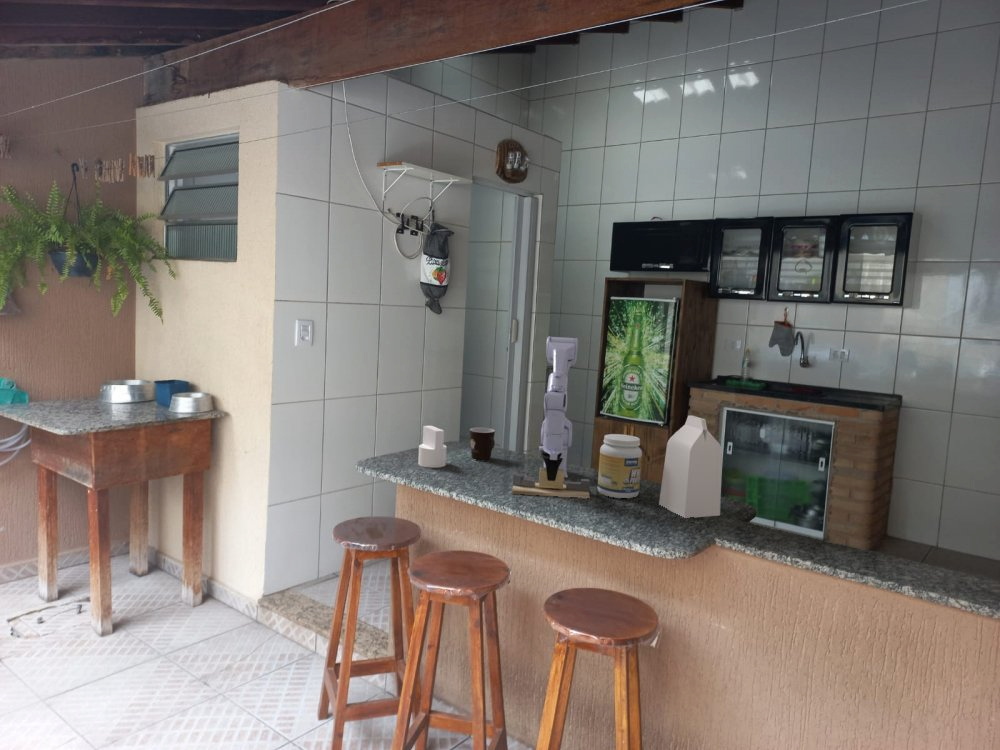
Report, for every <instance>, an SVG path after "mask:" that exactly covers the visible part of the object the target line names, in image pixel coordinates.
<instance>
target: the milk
mask: <svg viewBox="0 0 1000 750" xmlns="http://www.w3.org/2000/svg"><path fill="white" fill-rule="evenodd" d="M722 462H723V449H722V446H721V444H720V443H719V441H717V440H716V438H715V437H714V436H713V435H712V433H710V431H709V430H708V426H707V422H706V418H702V417H698V416H696V415H687V418H686V420H685V423H684V425H682V427H680V428H679V429H678V430H677V431H675V432H674V434H673V435H672V436H671V437H669V439H668V440H667V443H666V449H665V458H664V465H663V472H662V478H661V487H660V496H659V501H658V502H659V503H658V505H659V506H660V505H661V507H662V506H663V507H662V508H664V507H665V508H664V509H666V508H667V509H666V510H668V511H670V512H672V513H674V514H675V513H676V514H675V515H677V514H678V515H677V516H679V515H680V517H681V516H682V517H681V518H683V517H684V518H683V519H691V518H690V517H694V518H702V517H705V518H706V517H716V516H718V517H719V516H721V497H722V469H723V468H722V467H723V465H722V464H723V463H722Z"/></svg>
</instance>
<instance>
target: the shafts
mask: <svg viewBox="0 0 1000 750" xmlns="http://www.w3.org/2000/svg"><path fill="white" fill-rule="evenodd" d="M512 476H513V477H512V486H513V485H516V486H524V487H530V488H534V487H535V483H536V481H537V480H536V479H534V478H527V477H525V474H524V473H514V474H513V475H512ZM590 483H591V482H590V478H581V479H580V482H579V481H567V480H566V482H565V484H566V490H575V491H588V492H589V493H590V487H591V485H590Z"/></svg>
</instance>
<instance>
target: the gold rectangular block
mask: <svg viewBox="0 0 1000 750" xmlns="http://www.w3.org/2000/svg"><path fill="white" fill-rule="evenodd" d="M538 477H539V478H538V483H539V487H544V488H556V489H563V484H565V482H564V481H565V477H564V469H560V468H558V472H557V476H556V479H555V481H548V479H547V470H546V467H544V466H540V467H539V474H538Z"/></svg>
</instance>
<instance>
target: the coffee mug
mask: <svg viewBox="0 0 1000 750" xmlns="http://www.w3.org/2000/svg"><path fill="white" fill-rule="evenodd" d="M495 432H496V431H495V429H493V428H489V427H473V428H470V429H469V435H470V439H469V440H470V449H471V459H472V458H473V459H476V460H475V461H478V460H487V461H490V460H491V458H492V457H491V456H492V451H493V450H494V447H495V439H494V437H495ZM473 459H472V460H473ZM489 459H490V460H489Z"/></svg>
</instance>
